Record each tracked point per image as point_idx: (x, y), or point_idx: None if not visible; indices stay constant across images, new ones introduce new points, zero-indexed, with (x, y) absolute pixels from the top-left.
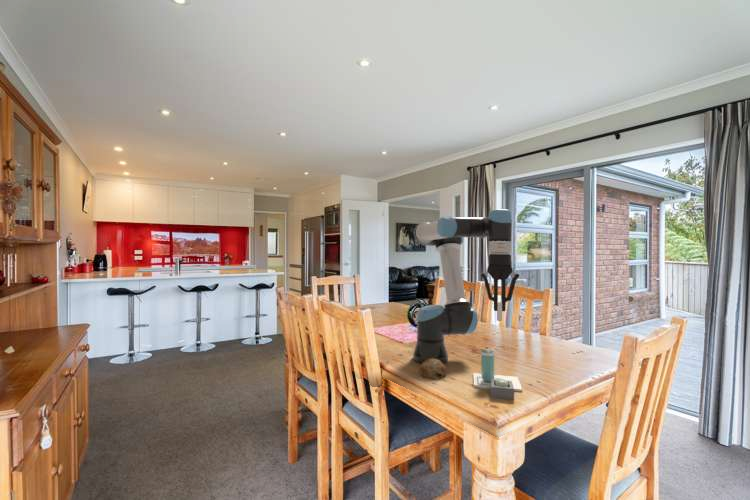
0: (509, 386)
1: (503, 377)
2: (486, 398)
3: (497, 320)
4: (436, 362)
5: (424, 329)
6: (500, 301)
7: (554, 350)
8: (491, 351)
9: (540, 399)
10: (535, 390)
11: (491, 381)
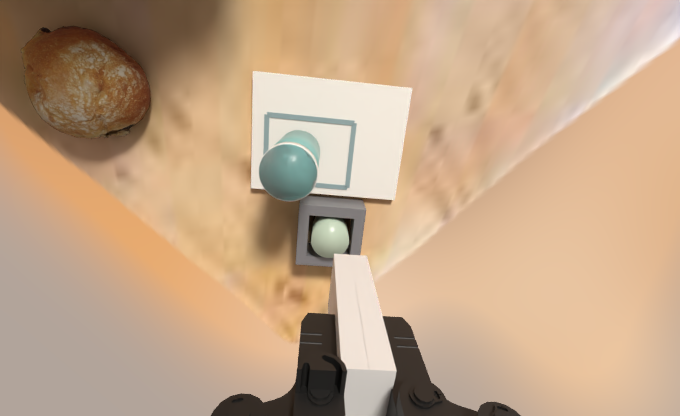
0: (351, 241)
1: (359, 102)
2: (284, 257)
3: (328, 302)
4: (83, 111)
5: None
6: (381, 380)
7: None
8: (306, 173)
9: (425, 240)
10: (435, 181)
11: (301, 223)
